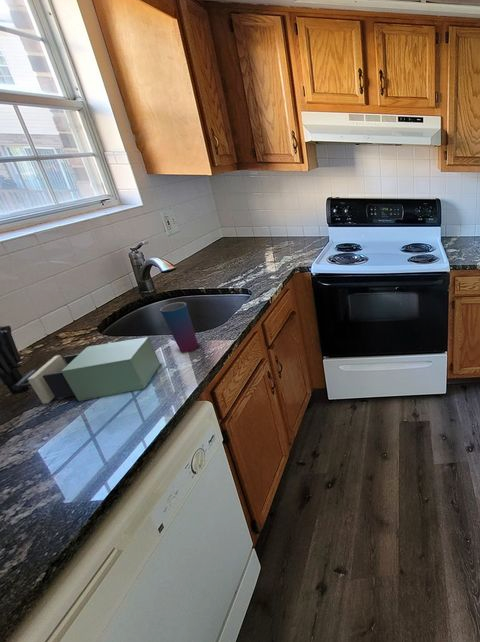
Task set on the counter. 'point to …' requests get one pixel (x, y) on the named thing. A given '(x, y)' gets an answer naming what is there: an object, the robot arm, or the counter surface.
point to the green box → (112, 368)
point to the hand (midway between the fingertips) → (21, 391)
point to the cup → (180, 325)
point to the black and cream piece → (48, 380)
